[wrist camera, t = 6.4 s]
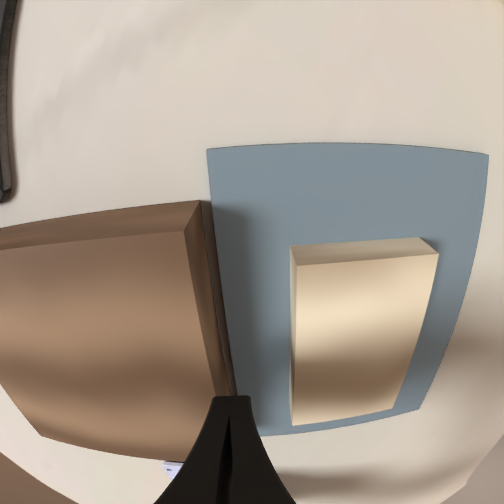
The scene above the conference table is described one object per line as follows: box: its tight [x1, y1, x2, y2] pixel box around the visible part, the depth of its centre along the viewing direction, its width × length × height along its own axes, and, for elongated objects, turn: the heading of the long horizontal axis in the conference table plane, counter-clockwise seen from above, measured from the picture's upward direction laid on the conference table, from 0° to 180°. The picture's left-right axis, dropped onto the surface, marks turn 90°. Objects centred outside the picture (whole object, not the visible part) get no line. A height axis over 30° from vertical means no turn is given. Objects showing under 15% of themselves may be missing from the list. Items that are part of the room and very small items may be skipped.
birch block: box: [289, 237, 439, 426], centre depth 14 cm, size 10×6×2 cm, turn 4°
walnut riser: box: [0, 200, 230, 462], centre depth 13 cm, size 14×14×4 cm
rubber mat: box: [206, 143, 489, 437], centre depth 15 cm, size 18×13×1 cm
